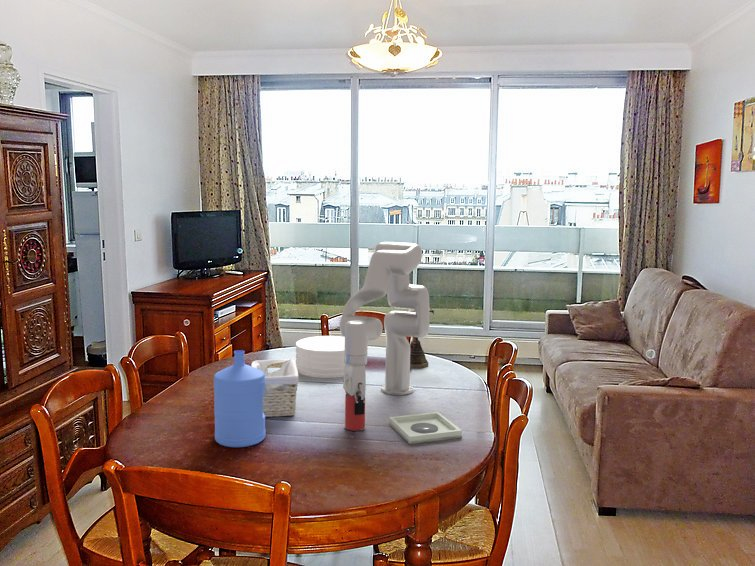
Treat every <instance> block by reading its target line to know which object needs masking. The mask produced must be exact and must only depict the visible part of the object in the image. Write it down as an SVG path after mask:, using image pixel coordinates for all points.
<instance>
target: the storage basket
mask: <svg viewBox="0 0 755 566" xmlns="http://www.w3.org/2000/svg"><path fill="white" fill-rule="evenodd" d="M250 366H252V367H254V368H257V369H259V370H262V371H263V372H264V374H265V395H264V396H263V413H264V415H265V418H268V417H269V418H271V417H272V418H273V417H287V416H290V417H291V416H294V415H295V413H296V410H297V406H296V405H297V404H296V403H297V402H296V401H297V391H298V386H299V372H298V371H297V367H296V360H295V359H292V358H290V359H288V358H287V359H284V358H283V359H264V360H263V359H260V360H259V359H258V360H253V361H252V362H251V364H250ZM268 368H270V369H273V368H274V369H275V368H277V370H274V371H272V372H268Z"/></svg>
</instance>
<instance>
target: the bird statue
mask: <svg viewBox="0 0 755 566" xmlns="http://www.w3.org/2000/svg"><path fill="white" fill-rule="evenodd" d="M407 311H408V312H415V310H410V309H407ZM434 312H435V310H434V309H432V307H431V304H430V303H429V313H432V315H435V313H434ZM409 344H410V369H424V368H426V367H429V361H428V359H427V358H426V352H425V351H424V349H423V348H422V344H421V341H420V340H419V338H418V337H412V340H411V341H410V342H409Z"/></svg>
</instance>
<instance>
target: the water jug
mask: <svg viewBox="0 0 755 566" xmlns="http://www.w3.org/2000/svg"><path fill="white" fill-rule="evenodd" d="M245 353H246V352H245V350H243V349H241V350H239V349H238V350H234V351H233V354H234V356H233V359H234V363H232V364H231V365H229V366H227V367H225V368H223V369H221V370H218V371H217V372H216V373H214V375H213V392H214V393H213V394H214V396H213V397H214V398H213V399H214V407H213V411H214V412H213V413H214V440H215V442H216V443H218V444H219V445H220V446H224V447H227V448H245V447H251V446H253V445H254V446H255V445H257V444H259V443H261V442H262V441H263V440H265V438H266V436H267V435H266V433H267V431H266V417H265V415H264V413H263V396H264V395H265V374H264V372H263V371H262V370H259V369H257V368H254V367H252V366H251V365H249V364H246V363H245Z"/></svg>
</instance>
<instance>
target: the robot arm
mask: <svg viewBox="0 0 755 566" xmlns="http://www.w3.org/2000/svg"><path fill="white" fill-rule="evenodd" d="M422 258H423V251H422V247H421V246H420V245H419V244H417V243H412V242H398V241H382V242H378V243H377V244H376V246H375V251H374V253H373V254H371V257H370V261H369V264H368V268H367V271H366V275H365V279H364V282H363V286H362V287H361V288H360V289H359V290H358V291H356V292H355V293H353V295H351V297H349V299H348V300H347V302H346V303H345V305H344V308H343V311H342V314H341V318H340V322H339V332H340V334H341V336H342V337H345V340H344V364H345V367H344V377H343V381H342V384H343V386H342V387H343V388H342V389H343V390H344V391H345V392H344V393H345V399H346V395H347V393H348V394H349V395H351V396H353V395H354V396H355V401H356V403H355V406H354V414H355V415H363V414H364V405H365V406H366V385H367V384H366V383H367V382H366V365H367V364H368V345H369V343H368V342H370V341H375V340H378V338H380V337H381V335H382V333H383V331H384V334H385V371H384V372H385V373H384V374H385V377H384V381H385V384H383V385H381V387H380V391H381V392H383V393H384V394H386V395H393V396H405V395H410V394H412V393H413V392H414V387H413V386H412V385H411V384H410V379H411V377H410V376H411V368H410V342H409V340H408V339H407V337H409V338H410V337H411V338H413V337H418V339H419V338H422V339H423V338H425V337H427V335H428V334H429V332H430V312H429V304H430V293H429V289H428V288H427V287H426V286H424V285H420V284H411V283H410V274H411V273H412V272H413V271H414V270H415V269H416V268H417V267H419V265H420V263H421V261H422ZM386 295H387V303H388V306H389V307H391V308H393V309H400V310H391V311H388V312H387V313H385V315H384V318H383V322H382V321H381V320H380V319H379V318H377V317H374V316H373V317H372V316H371V317H370V316H365V315H363V316H362V315H355V314H356V312H357V311H358V310H359V309H360V308H361V307H363V306H364V305H367V304H369V303H371V302H374V301H377V300H381V299H383V298H384V297H385V296H386ZM401 309H402V310H401ZM408 309H410V310H413V311H414V310H415V312H408ZM406 310H407V311H406ZM357 396H359V398H358V397H357Z"/></svg>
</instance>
